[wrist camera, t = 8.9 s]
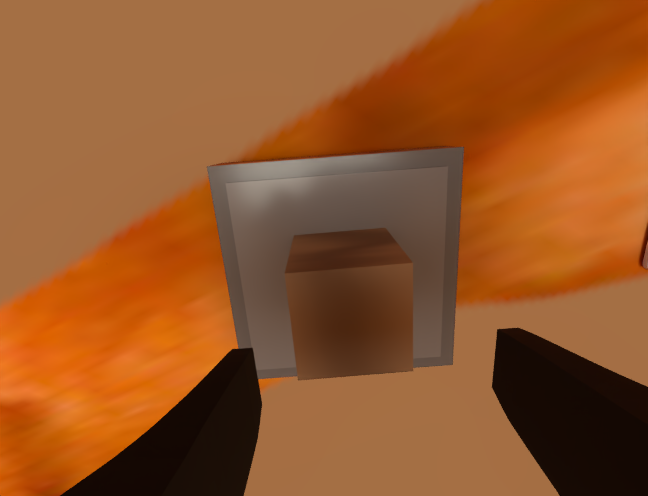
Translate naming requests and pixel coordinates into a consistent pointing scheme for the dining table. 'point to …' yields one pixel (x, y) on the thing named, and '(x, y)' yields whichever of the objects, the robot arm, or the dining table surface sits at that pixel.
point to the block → (350, 304)
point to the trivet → (333, 216)
